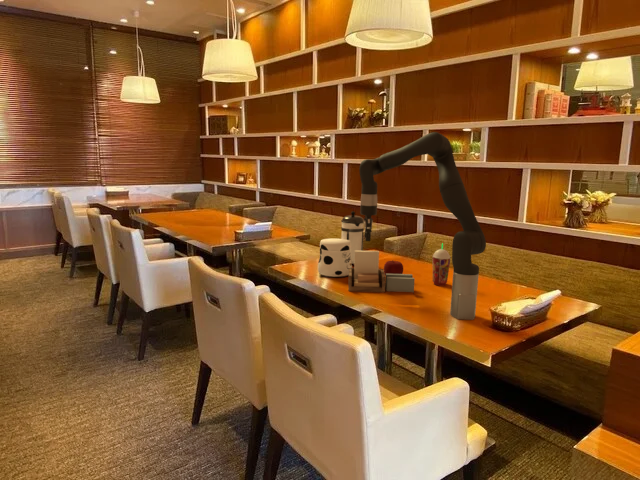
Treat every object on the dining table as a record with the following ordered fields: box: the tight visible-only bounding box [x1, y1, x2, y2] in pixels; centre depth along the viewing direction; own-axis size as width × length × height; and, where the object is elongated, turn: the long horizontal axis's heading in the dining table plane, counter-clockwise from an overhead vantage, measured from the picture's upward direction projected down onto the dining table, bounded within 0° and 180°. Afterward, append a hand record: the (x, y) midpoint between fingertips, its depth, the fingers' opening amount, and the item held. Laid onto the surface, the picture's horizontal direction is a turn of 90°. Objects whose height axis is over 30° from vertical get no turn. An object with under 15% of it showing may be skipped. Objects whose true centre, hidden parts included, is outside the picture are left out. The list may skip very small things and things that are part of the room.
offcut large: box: [354, 279, 379, 287], centre depth 204 cm, size 6×11×4 cm, turn 87°
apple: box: [383, 259, 404, 277], centre depth 222 cm, size 10×10×10 cm
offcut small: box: [357, 273, 379, 283], centre depth 204 cm, size 5×9×3 cm, turn 91°
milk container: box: [317, 237, 353, 279], centre depth 228 cm, size 17×17×18 cm
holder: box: [385, 273, 415, 295], centre depth 205 cm, size 8×12×7 cm, turn 87°
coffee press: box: [340, 211, 365, 265], centre depth 254 cm, size 17×16×30 cm
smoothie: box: [432, 242, 452, 287], centre depth 216 cm, size 8×8×20 cm
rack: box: [348, 267, 386, 293], centre depth 206 cm, size 14×16×8 cm
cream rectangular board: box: [353, 250, 380, 279], centre depth 209 cm, size 2×11×16 cm, turn 87°
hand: (367, 239), depth 207 cm, fingers open, 8 cm apart
